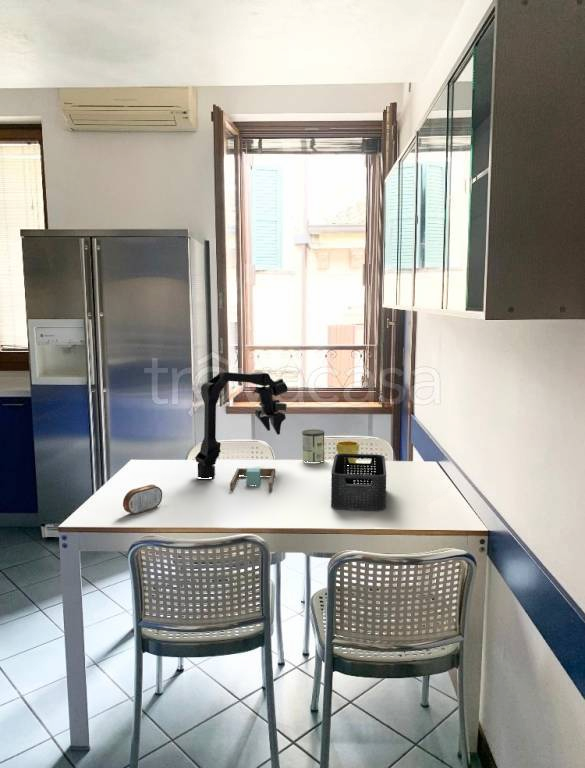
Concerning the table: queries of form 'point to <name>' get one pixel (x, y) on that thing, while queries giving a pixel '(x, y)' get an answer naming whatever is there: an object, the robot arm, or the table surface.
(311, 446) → the coffee can
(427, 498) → the table surface
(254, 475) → the teal block
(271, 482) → the wooden u-shaped frame
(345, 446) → the plant pot
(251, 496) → the table surface
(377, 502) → the storage bin
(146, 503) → the tin
